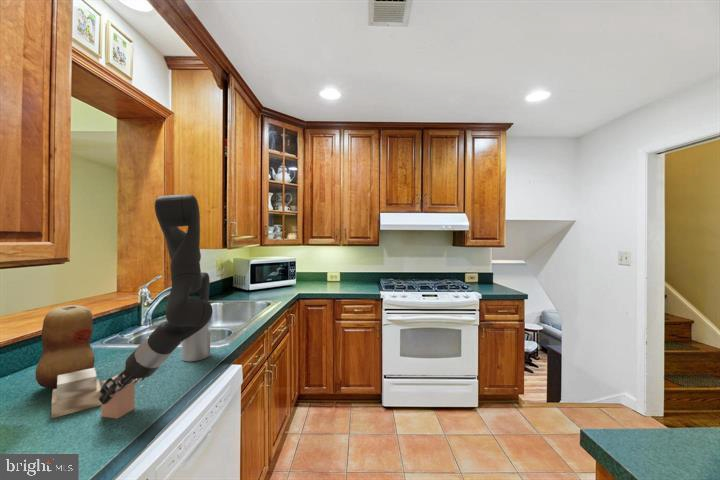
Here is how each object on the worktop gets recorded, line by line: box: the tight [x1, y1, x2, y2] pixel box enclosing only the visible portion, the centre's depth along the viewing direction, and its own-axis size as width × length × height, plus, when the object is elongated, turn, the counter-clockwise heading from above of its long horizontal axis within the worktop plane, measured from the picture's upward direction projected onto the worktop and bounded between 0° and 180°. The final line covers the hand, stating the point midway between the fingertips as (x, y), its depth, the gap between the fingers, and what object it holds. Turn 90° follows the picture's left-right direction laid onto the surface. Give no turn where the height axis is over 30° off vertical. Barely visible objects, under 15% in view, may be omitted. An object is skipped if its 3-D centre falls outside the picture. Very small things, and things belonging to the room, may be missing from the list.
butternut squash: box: [35, 304, 96, 390], centre depth 100 cm, size 14×13×25 cm
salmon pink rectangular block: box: [100, 374, 136, 420], centre depth 85 cm, size 5×5×9 cm
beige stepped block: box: [51, 367, 101, 419], centre depth 89 cm, size 10×10×8 cm
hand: (112, 396), depth 85 cm, fingers closed on salmon pink rectangular block, 5 cm apart
